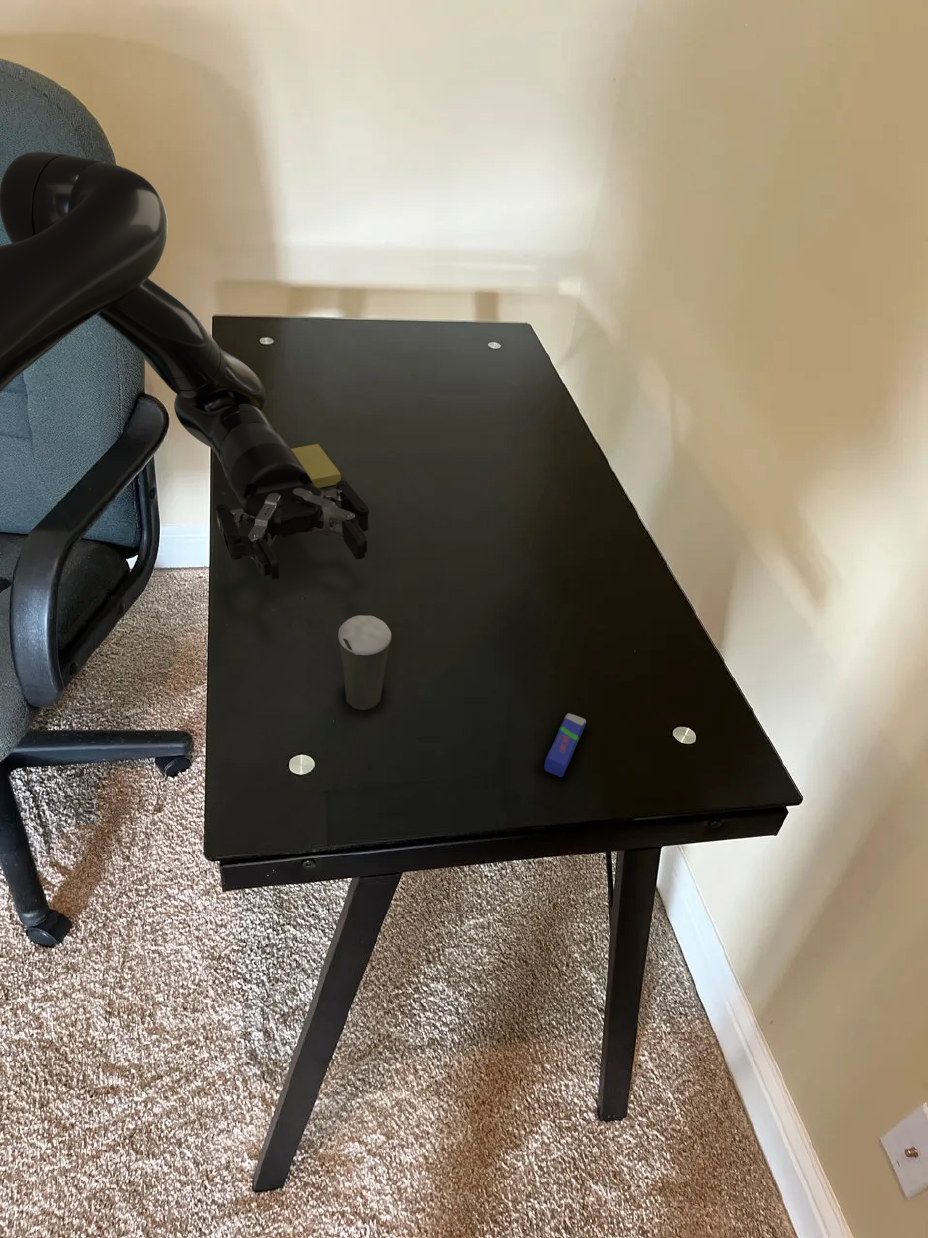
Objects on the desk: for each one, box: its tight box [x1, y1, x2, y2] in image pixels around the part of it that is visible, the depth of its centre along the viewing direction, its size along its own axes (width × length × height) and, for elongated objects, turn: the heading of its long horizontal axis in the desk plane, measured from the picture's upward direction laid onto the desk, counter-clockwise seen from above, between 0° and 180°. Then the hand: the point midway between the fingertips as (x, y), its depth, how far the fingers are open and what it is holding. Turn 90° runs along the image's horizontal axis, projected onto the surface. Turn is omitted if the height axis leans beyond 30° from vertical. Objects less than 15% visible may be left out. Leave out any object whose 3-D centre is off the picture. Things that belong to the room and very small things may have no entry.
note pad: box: [291, 443, 342, 489], centre depth 103 cm, size 8×8×2 cm
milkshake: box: [337, 614, 392, 711], centre depth 73 cm, size 4×5×10 cm
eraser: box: [543, 712, 587, 778], centre depth 74 cm, size 2×6×2 cm, turn 156°
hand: (319, 561), depth 78 cm, fingers open, 8 cm apart
